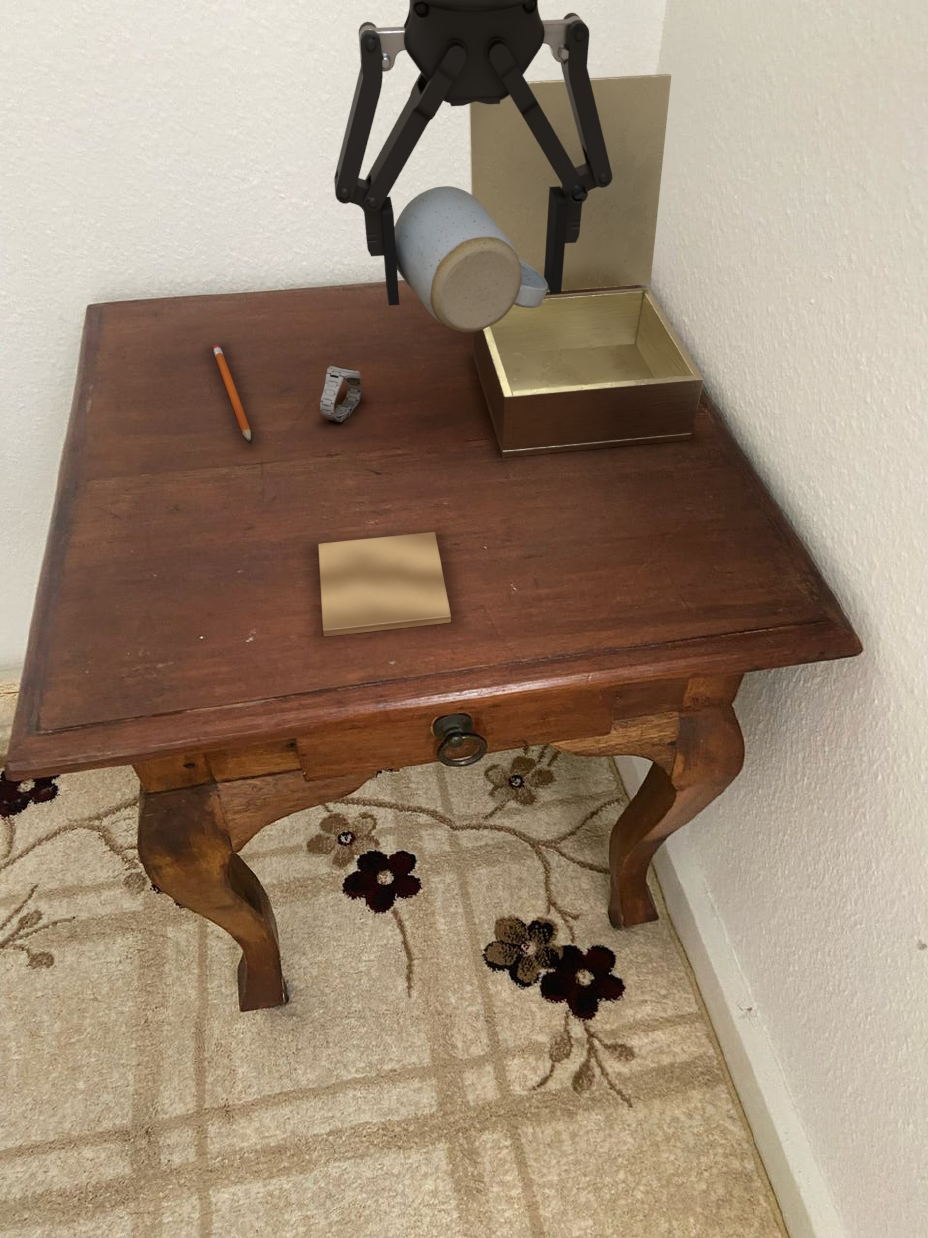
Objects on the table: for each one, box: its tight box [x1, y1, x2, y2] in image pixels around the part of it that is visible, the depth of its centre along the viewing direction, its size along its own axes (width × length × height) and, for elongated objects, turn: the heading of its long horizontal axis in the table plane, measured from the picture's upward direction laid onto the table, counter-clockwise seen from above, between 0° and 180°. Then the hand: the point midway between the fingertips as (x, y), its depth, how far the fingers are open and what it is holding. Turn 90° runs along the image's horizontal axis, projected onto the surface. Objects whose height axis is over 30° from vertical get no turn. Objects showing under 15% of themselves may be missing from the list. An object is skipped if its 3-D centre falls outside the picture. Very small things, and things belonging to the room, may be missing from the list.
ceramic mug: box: [394, 185, 548, 333], centre depth 62 cm, size 11×8×8 cm
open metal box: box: [473, 287, 705, 459], centre depth 87 cm, size 18×19×7 cm
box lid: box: [468, 73, 672, 293], centre depth 86 cm, size 19×19×5 cm
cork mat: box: [317, 531, 452, 638], centre depth 71 cm, size 10×10×1 cm
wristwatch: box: [319, 365, 363, 423], centre depth 86 cm, size 4×6×5 cm, turn 158°
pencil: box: [212, 343, 252, 444], centre depth 90 cm, size 1×19×1 cm, turn 21°
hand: (473, 290), depth 64 cm, fingers closed on ceramic mug, 11 cm apart
